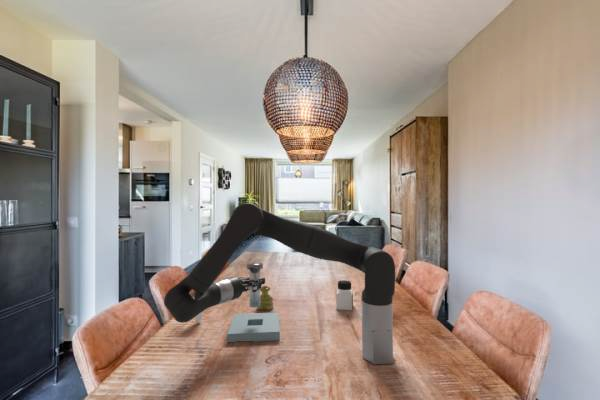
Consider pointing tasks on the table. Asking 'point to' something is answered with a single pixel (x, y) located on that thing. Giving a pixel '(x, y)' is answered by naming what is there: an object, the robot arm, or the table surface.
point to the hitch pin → (254, 275)
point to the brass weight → (265, 299)
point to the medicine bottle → (344, 296)
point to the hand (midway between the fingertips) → (259, 279)
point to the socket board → (254, 327)
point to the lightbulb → (199, 317)
